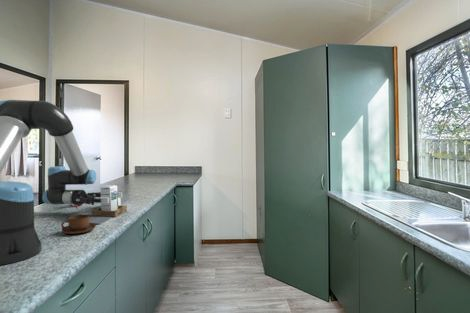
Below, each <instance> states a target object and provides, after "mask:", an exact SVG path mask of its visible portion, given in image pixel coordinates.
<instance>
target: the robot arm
mask: <svg viewBox="0 0 470 313" xmlns="http://www.w3.org/2000/svg"><path fill="white" fill-rule="evenodd" d="M32 130H45V131H47V133H48V135H49V136H51V137H53V138H54V141H55V142H56V144H57V146H58V149H59V151H60V153H61V154H62V157H63V158H64V160H65V163H66V164H67V166H68V168H69V169H66V166H59V165H57V166H50V167H48V168H47V186H48V189H46V190H45V191H43V193H42V194H43V195H42V201H43V203H45V204H48V205H69V206H70V205H74V204H75V205H77V206H79V205H81V206H82V205H83V204H85V205H92V206H94V205H95V204H101V203H109V198H107V197H101V191H100V192H86V190H84V189H66V186H70V185H73V186H74V185H76V186H77V185H79V186H80V185H81V186H82V185H86V186H87V185H93V184H95V183H96V180H97V172H96V171H95V170H94V169H89V168H88V165H87V163H86V161H85V158H84V156H83V154H82V151H81V149H80V146H79V144H78V141H77V140H76V137H75V134H74V132H73V131H74V126H73V123H72V121H71V119H70V118H69V116H68V115H67V114H66V113H65V112H64V110H62V109H61V108H59V107H58V106H57V105H55V104H54V103H51V102H49V101H45V100H24V99H23V100H21V99H6V100H5V99H4V100H0V174H1V173H2V172H3V170H4V168H5V166H6V164H7V163H8V161H9V159H11V156H12V154H13V153H14V151H15V149H16V148H17V146H18V144H19V142H20V141H21V139H22V138H26V137H27V136H29V134H30V133H31V131H32ZM118 198H121V199H122V198H123V191H122V192H120V191H119V192H118ZM75 205H74V206H75ZM34 209H35V196H34V189H33V186H31V185H30V184H29V183H27V182H21V181H0V266H1V265H7V264H14V263H17V262H21V261H24V260H28V259H29V258H32V257H35V256H36V255H38V254H40V252H42V241H41V240H40V239H39V235H38V234H37V230H36V228H35V210H34Z"/></svg>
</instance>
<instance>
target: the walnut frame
mask: <svg viewBox="0 0 470 313" xmlns="http://www.w3.org/2000/svg"><path fill="white" fill-rule="evenodd" d="M127 209H128V208H127V205H121V206H118V209H117V210H115V211H101V206H100V207H97V208H94V209H93V210H91V211H90V215H91V216H90V217H111V218H117V217H119V216H120V215H123V214H124V213H126V212H127V211H128V210H127Z"/></svg>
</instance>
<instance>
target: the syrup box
mask: <svg viewBox="0 0 470 313" xmlns="http://www.w3.org/2000/svg"><path fill="white" fill-rule="evenodd" d="M100 192H101V197H107V198H109V203H100V207H101V211H115V210H117V209H118V185H114V184H113V185H112V184H111V185H110V184H108V185H104V186H101V187H100Z"/></svg>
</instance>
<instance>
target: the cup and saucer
mask: <svg viewBox="0 0 470 313" xmlns="http://www.w3.org/2000/svg"><path fill="white" fill-rule="evenodd" d="M89 217H90V215H89V214H75V215H71V216H69V217H68V220H64V221H62V222H61V224H60V227H61V231H62V233H64V234H69V235H79V234H84V233H89V232H90V231H92V230H94V229H95V228H96V226H97V225H96V224H94V223H89ZM66 223H68V225H66V226H64V224H66Z"/></svg>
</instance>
